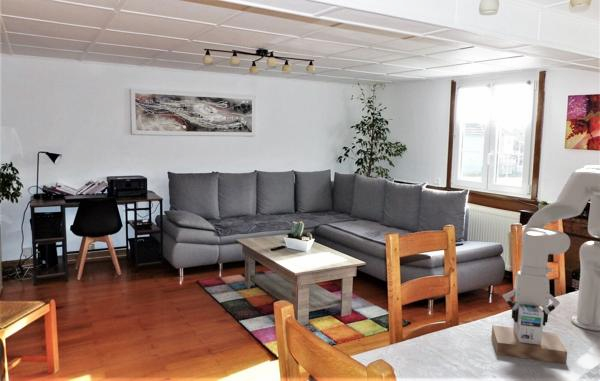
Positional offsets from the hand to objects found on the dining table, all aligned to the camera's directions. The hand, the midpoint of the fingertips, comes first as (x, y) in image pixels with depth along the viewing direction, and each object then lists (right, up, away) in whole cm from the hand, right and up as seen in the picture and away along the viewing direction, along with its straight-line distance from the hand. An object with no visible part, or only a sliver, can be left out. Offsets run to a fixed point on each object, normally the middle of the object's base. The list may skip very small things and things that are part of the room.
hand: (529, 322), depth 152 cm
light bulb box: (0, -5, +1) cm, 6 cm away
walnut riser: (0, -9, +1) cm, 9 cm away
